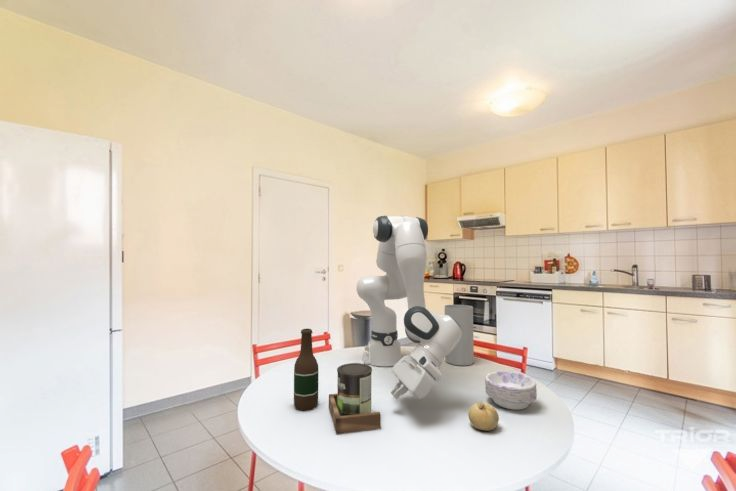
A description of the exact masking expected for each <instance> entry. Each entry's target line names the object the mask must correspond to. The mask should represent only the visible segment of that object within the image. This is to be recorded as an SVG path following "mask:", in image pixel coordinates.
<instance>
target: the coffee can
mask: <svg viewBox="0 0 736 491" xmlns="http://www.w3.org/2000/svg"><path fill="white" fill-rule="evenodd" d="M336 371H337V394H338V397H337V408H338V411H339V414H340V416H347V415H356V414H365V413H372V374H373V373H372V372H373V367H372V366H370V365H369V364H365V363H359V362H352V363H346V364H345V363H344V364H342V365H339V366H338V367H337V368H336Z"/></svg>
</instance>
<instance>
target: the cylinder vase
mask: <svg viewBox="0 0 736 491" xmlns="http://www.w3.org/2000/svg"><path fill="white" fill-rule="evenodd" d="M444 315H449V316H451V317H452V318H453V319H454V320H455V321H456V322H457V323H458V325H459V326H460V328H461V331H462V336H461V338H460V340H459V342H458V343H457V345H456V346H455V347H454V349H453V350H452V351H451V352H450V353H449V354H448V355H447V356H445V357H444V360H445V362H446V363H448V364H449V365H453V366H457V367H458V366H459V367H460V366H461V367H466V366H471V365H473V364H474V363H475V360H474V357H475V356H474V352H475V351H474V349H475V348H474V306H472V305H466V304H447V305H444Z"/></svg>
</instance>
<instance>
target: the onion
mask: <svg viewBox="0 0 736 491" xmlns="http://www.w3.org/2000/svg"><path fill="white" fill-rule="evenodd" d="M467 415H468V420H469V422H470V424H471V426H473V428H475V429H478V430H480V431H492V430H494V429H495V428H496V427H497V425H498V424H499V422H500V418H499V413H498V412H497V410H496V408H495V407H494V406H493V405H492V404H490V403H488V402H482V401H477V402H476V403H473V404H472V405H471V406H470V408H469V409H468V414H467Z"/></svg>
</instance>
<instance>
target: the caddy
mask: <svg viewBox="0 0 736 491" xmlns="http://www.w3.org/2000/svg"><path fill="white" fill-rule="evenodd" d="M337 397H338V393H331V394H330V393H328V409H329V413H330V416H331V419H332V423H333V428H334V430H335V433H336V434H335V435H342V434H350V433H357V432H366V431H367V432H368V431H375V430H379V429H380V430H381V427H382V425H381V424H382V423H381V421H382V417H381V415H382V413H381V412H380V411H373V412H371V413H365V414H356V415H347V416H340V414H339V411H338V408H337Z"/></svg>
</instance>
